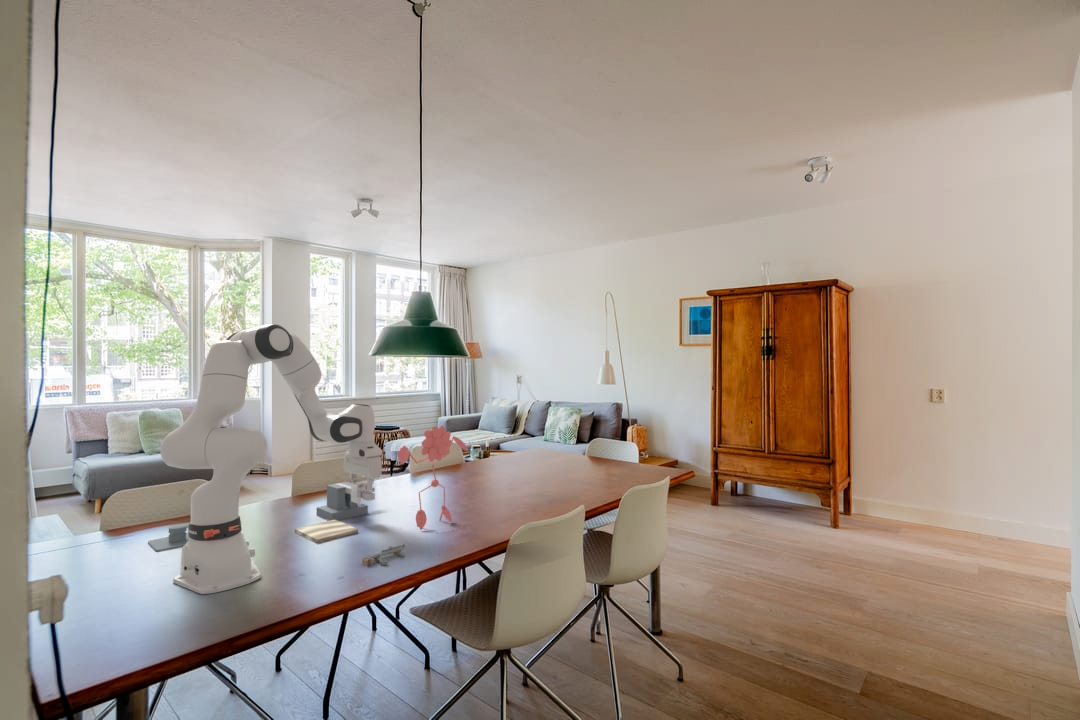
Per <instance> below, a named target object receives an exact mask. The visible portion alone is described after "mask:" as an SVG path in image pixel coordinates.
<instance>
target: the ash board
mask: <svg viewBox="0 0 1080 720" xmlns="http://www.w3.org/2000/svg"><path fill="white" fill-rule="evenodd" d="M294 533H295V534H297V535H299V536H302V537H303V538H305V539H307V540H310V541H311V542H312V543H313V542H314V543H315V544H319V543H323V542H327V541H331V540H335V539H338V538H342V537H346V536H350V535H354V534H358V533H359V528H357V527H354V526H351V525H350V524H347V523H344V522H342V521H341V520H338V521H337V520H331V521H329V520H326V521H323V522H318V523H315V524H310V525H306V526H300V527H298V528H294Z"/></svg>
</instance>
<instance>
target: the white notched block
mask: <svg viewBox="0 0 1080 720" xmlns="http://www.w3.org/2000/svg"><path fill="white" fill-rule="evenodd" d="M350 483H351V502H354V503H362V498H361V493H362V492H367V491H368V492H371V493H373V492H372V490H366V489H365V485H367V479H366V480H362V481H361V480H360V481H358V482H355V483H352V482H350ZM363 500H364V501H367V502H370V501H372V500H366V499H363Z"/></svg>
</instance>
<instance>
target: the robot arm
mask: <svg viewBox="0 0 1080 720" xmlns="http://www.w3.org/2000/svg"><path fill="white" fill-rule="evenodd" d="M268 362H272V363H273V364H274V365H275V366H276V368H277V369H278V372H279V373H280V374H281V376H282V378H283V379H284V380H285V382H286V383H287V385H288V386H289V388H290V389H291V391H292V393H293V395H294V397H295V399H296V401H297V403H298V404H299V406H300V408H301V409H302V411H303V413H304V415H305V417H306V419H307V422H308V427H309V432H310V434H311V436H312V438H314V439H315V440H317V441H319V442H330V443H337V444H344V443H347V442H348V447H347V449H345V450H346V451H345V453H344V457H343V472H344V473H347V474H349V478H350V480H351V483H355V482H359V480H358V478H357V476H359V477H362V478H366V480H367V485H365V489H366V490H372V488H373V484H374V481H375V479H379V478H381V475H382V469H383V467H382V466H383V465H382V463H383V462H382V457H381V456H383V450H382V449H381V448H380V447H379V446H378V445H377V444H376V443H375V442H376V441H375V440H376V439H375V436H374V434H375V433H374V431H375V427H376V426H375V423H376V422H375V413H374V412H375V411H374V409H373V407H372V406H371V405H368V404H362V403H352V404H350V405H349V406H348V408H347V409H345V410H343V411H341V412H339V413H337V414H336V413H331V412H329V411H328V410H326V409H325V407H324V406H323V403H322V402H321V400H320V398H319V396H318V394H317V392H316V387H317V386H318V384H319V383H320V381H321V379H322V376H323V375H322V370H321V367H320V365H319V363H318V362H317V360H316V359H315V357H314V355H313V354H312V352H311V351H310V349H308V347H307V346H306V344H305V343H304V342H303V341H302V340H301V339H300V337H298V336H297V335H296V334H293V333H290V332H289V331H288V330H287V329H286V328H285V327H283V326H281V325H279V324H275V323H268V324H263V325H260V326H259V325H258V326H251V327H248V328H245V329H243V330H240V331H236V332H234V333H232V334H231V335H228V337H227V338H225V340H220V341H217V342H215V343H214V344H212V346H211V347H210V349H209V351H208V353H207V356H206V359H205V362H204V367H203V370H202V375H201V376H202V377H201V382H200V387H199V392H198V397H197V400H196V404H195V406H194V408H193V410H192V412H191V413H190V415H189V416H188V417H187V419H186V420H184V422H183V423H182V424H180V426H179V427H177V428H175V429H174V430H173V431H171V432H169V433H168V434H167V435H166V436H165V437H164V438H163V440H162V442H161V444H160V449H159V450H160V456H161V459H162V460H163V462H164V464H165V465H166V466H168V467H172V468H176V469H183V470H208V469H209V470H210V469H212V470H213V474H212V478H211V480H208V481H206V482H204V483H203V484H201V485H199V486H197V487H196V488H195V489H194V490H193V491H192V494H191V496H190V522H188V523H189V527H188V528H187V533H188V536H189V537H190V538H189V540H188V542H187V543H186V544H185V546H183V547H181V555H180V556H181V557H180V573H179V574H178V575H176V576H174V577H173V581H172V582H173V584H176V585H178V586H180V587H183V588H185V589H188V590H190V591H192V592H195V593H198V594H201V595H207V594H209V595H210V594H216V593H219V592H224V591H228V590H232V589H235V588H239V587H242V586H245V585H249V584H250V583H252V582H255V581H258V580H259V579H261V578H262V575H261V572H260V570H259V568H258V567H257V565H256V563H255V561H254V560H253V558H254V557H255V556H256V548H254V547H251V548H249V546H250V540H246V538H245V537H244V536H245V534H244V533H243V532H242V530H243V529H242V521H241V516H240V515H239V507H240V506H239V503H240V494H241V493H240V492H241V488H242V484H243V482H244V480H245V478H246V476H247V475H248V473H249V472H251V470H252V469H254V467H256V466H257V465H259V464H260V463H261V462H262V461H263V460H264V458H265V456H266V454H267V451H268V441H267V438H266V437H265V435H264V434H263V432H261V430H258V429H253V428H246V427H240V426H239V427H221V426H222V424H223V423H224V422H225V420H227V418H229V417H231V416H233V415H236V414H237V413H238V412H240V411H241V410H242V409H243V407H244V405H245V402H246V395H247V387H248V385H247V384H248V378H249V369H250V368H249V367H250V366H251V365H256V364H258V365H259V364H264V363H268Z"/></svg>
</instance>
